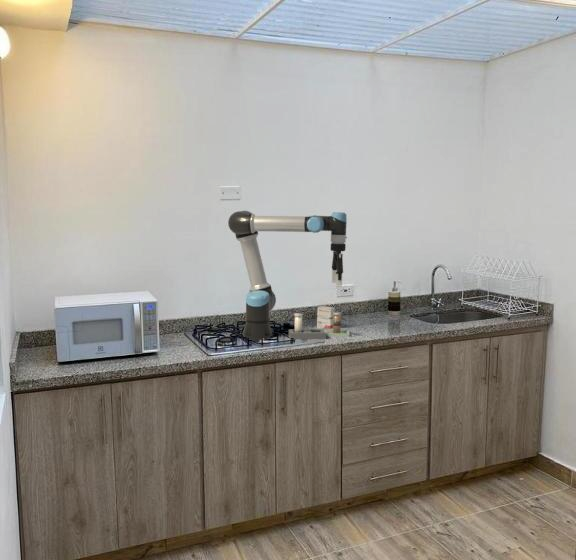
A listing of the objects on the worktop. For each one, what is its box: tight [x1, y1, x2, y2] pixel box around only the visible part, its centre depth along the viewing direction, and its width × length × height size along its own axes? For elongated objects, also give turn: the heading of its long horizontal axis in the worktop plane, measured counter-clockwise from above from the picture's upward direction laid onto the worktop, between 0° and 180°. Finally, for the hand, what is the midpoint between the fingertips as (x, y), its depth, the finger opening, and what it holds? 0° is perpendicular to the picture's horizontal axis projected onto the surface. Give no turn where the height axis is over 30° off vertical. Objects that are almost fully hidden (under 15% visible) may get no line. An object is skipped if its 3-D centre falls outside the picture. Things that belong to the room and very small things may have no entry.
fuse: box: [294, 312, 304, 332], centre depth 303 cm, size 4×4×12 cm
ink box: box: [316, 305, 336, 329], centre depth 328 cm, size 9×5×12 cm, turn 58°
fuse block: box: [288, 328, 327, 340], centre depth 304 cm, size 18×9×4 cm, turn 95°
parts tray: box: [324, 329, 351, 338], centre depth 311 cm, size 12×9×2 cm
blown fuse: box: [332, 311, 342, 333], centre depth 310 cm, size 4×4×12 cm
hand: (336, 284), depth 307 cm, fingers open, 13 cm apart
